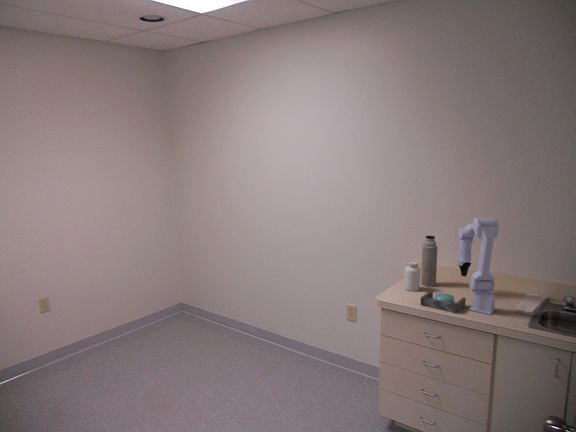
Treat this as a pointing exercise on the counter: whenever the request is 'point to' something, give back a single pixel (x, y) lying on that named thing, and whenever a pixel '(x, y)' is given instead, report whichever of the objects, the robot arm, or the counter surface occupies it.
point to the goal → (442, 303)
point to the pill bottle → (412, 277)
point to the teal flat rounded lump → (444, 297)
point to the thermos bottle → (429, 262)
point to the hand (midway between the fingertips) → (464, 275)
